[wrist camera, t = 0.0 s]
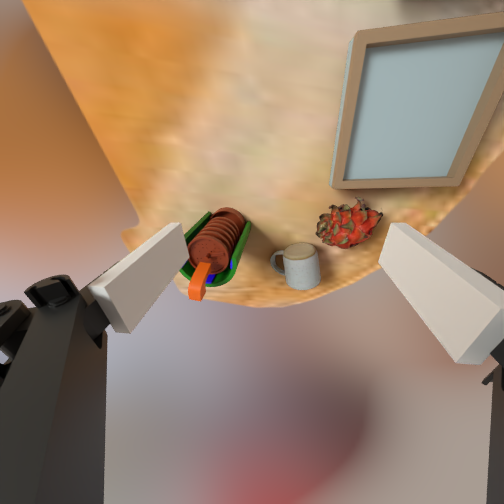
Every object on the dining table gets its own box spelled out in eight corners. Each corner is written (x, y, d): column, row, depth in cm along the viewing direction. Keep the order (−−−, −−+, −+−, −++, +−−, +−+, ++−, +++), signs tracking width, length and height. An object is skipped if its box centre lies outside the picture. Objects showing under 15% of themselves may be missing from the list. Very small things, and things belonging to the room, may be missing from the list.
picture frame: (344, 49, 27) (358, 30, 22) (493, 31, 25) (543, 6, 20) (326, 182, 36) (333, 189, 32) (434, 179, 34) (459, 186, 29)
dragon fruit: (306, 220, 42) (363, 203, 40) (318, 257, 41) (377, 241, 39) (311, 207, 34) (382, 184, 32) (326, 253, 32) (402, 232, 31)
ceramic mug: (314, 238, 42) (319, 256, 36) (318, 268, 46) (323, 289, 40) (267, 245, 45) (264, 263, 38) (274, 273, 49) (272, 294, 42)
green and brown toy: (249, 206, 41) (226, 256, 24) (252, 244, 45) (234, 309, 28) (203, 207, 42) (150, 255, 25) (210, 243, 47) (169, 305, 30)
